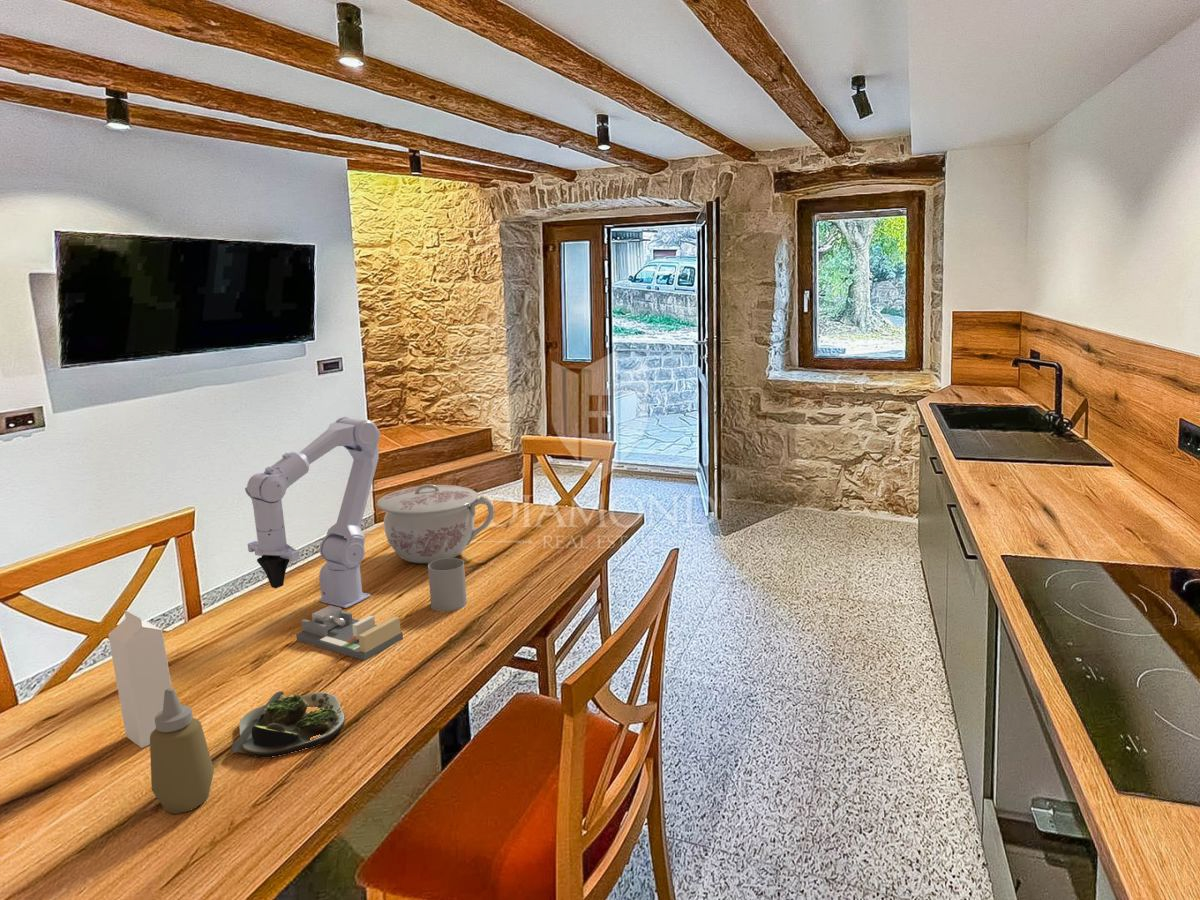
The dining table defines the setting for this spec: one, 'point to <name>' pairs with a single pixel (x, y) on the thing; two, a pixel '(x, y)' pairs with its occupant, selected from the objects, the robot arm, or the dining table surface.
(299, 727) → the salad plate
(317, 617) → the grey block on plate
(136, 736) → the milk
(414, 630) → the dining table surface
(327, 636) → the gauge base
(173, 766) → the squeeze bottle
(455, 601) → the cup
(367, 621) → the cream thin slab
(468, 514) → the chamber pot
